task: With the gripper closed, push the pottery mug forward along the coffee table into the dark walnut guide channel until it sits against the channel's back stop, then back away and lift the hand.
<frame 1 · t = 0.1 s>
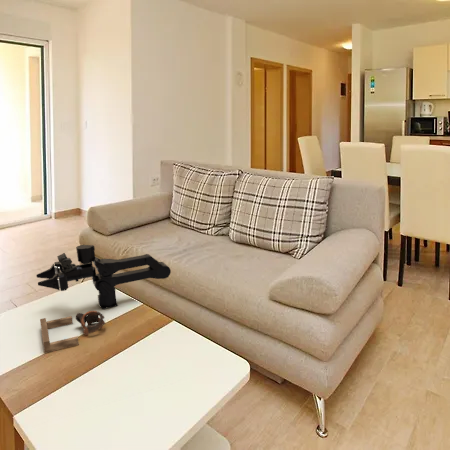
hand: (37, 279, 162), 17 cm above the table, tool horizontal, fingers open, 9 cm apart
pottery mug: (91, 329, 157), on the table
walnut guide channel: (62, 335, 153), on the table
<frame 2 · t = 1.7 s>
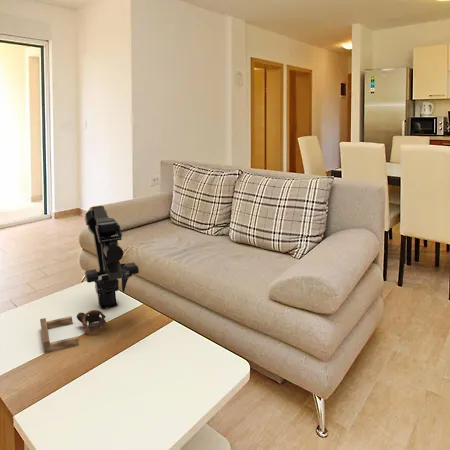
hand: (114, 293, 158), 12 cm above the table, tool pointing down, fingers open, 6 cm apart
nothing on the table moved.
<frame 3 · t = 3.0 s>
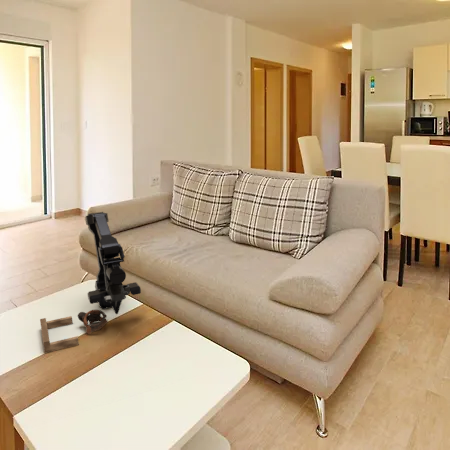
hand: (116, 313, 160), 4 cm above the table, tool pointing down, fingers closed
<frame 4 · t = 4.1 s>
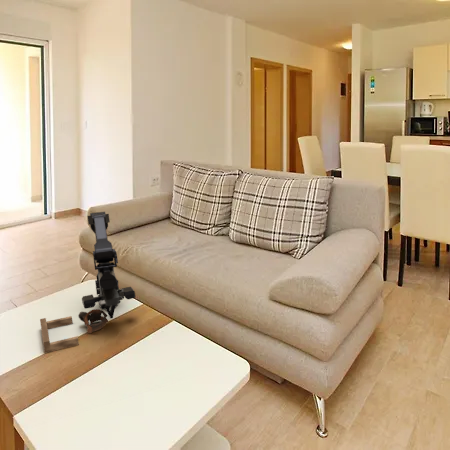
hand: (111, 318, 159), 3 cm above the table, tool pointing down, fingers closed
pottery mug: (94, 328, 158), on the table, touching gripper
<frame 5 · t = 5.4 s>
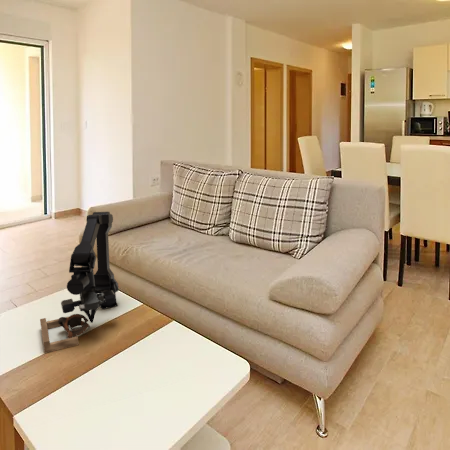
hand: (91, 322, 156), 3 cm above the table, tool pointing down, fingers closed
pottery mug: (74, 333, 154), on the table, touching gripper
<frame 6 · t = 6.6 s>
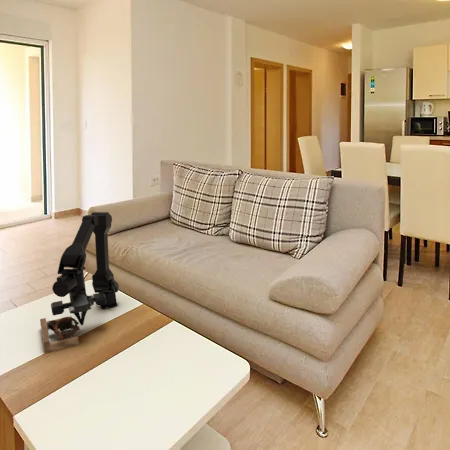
hand: (81, 324, 155), 3 cm above the table, tool pointing down, fingers closed
pottery mug: (64, 336, 153), on the table
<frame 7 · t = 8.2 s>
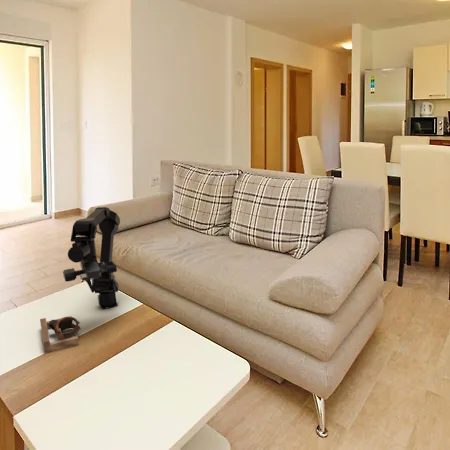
hand: (92, 292, 160), 12 cm above the table, tool pointing down, fingers closed
nothing on the table moved.
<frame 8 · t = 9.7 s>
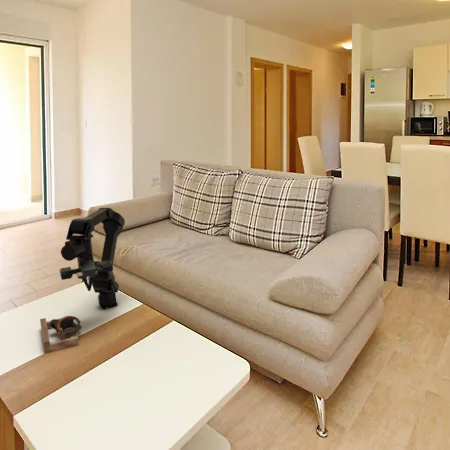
hand: (89, 290, 162), 12 cm above the table, tool pointing down, fingers closed
nothing on the table moved.
at the end: pottery mug inside the target area (0.6 cm from its centre), on the table; pottery mug tilted 0° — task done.
